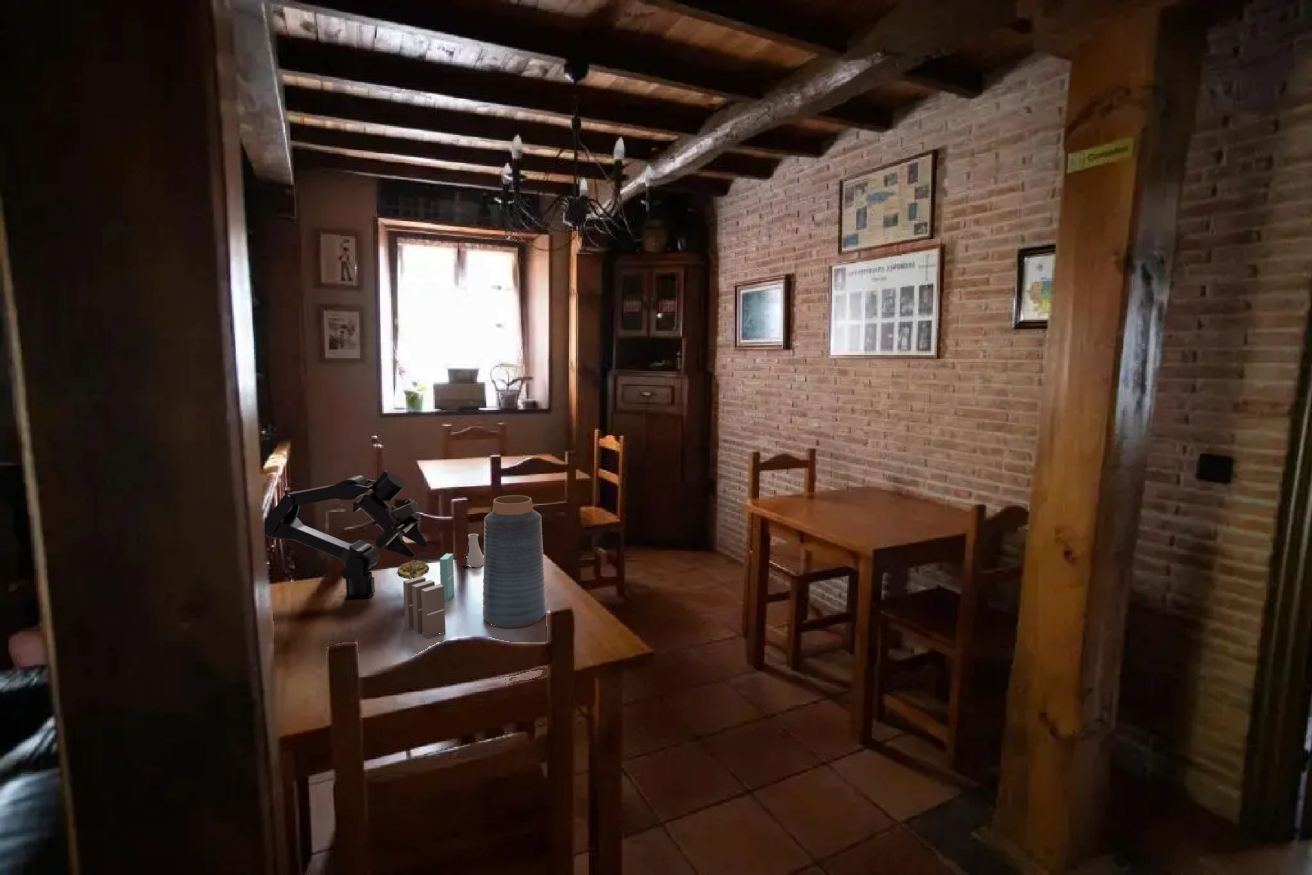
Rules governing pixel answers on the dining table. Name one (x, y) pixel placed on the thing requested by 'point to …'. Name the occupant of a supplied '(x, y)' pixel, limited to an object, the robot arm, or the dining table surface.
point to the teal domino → (447, 575)
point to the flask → (474, 552)
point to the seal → (413, 569)
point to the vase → (513, 564)
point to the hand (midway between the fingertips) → (420, 551)
